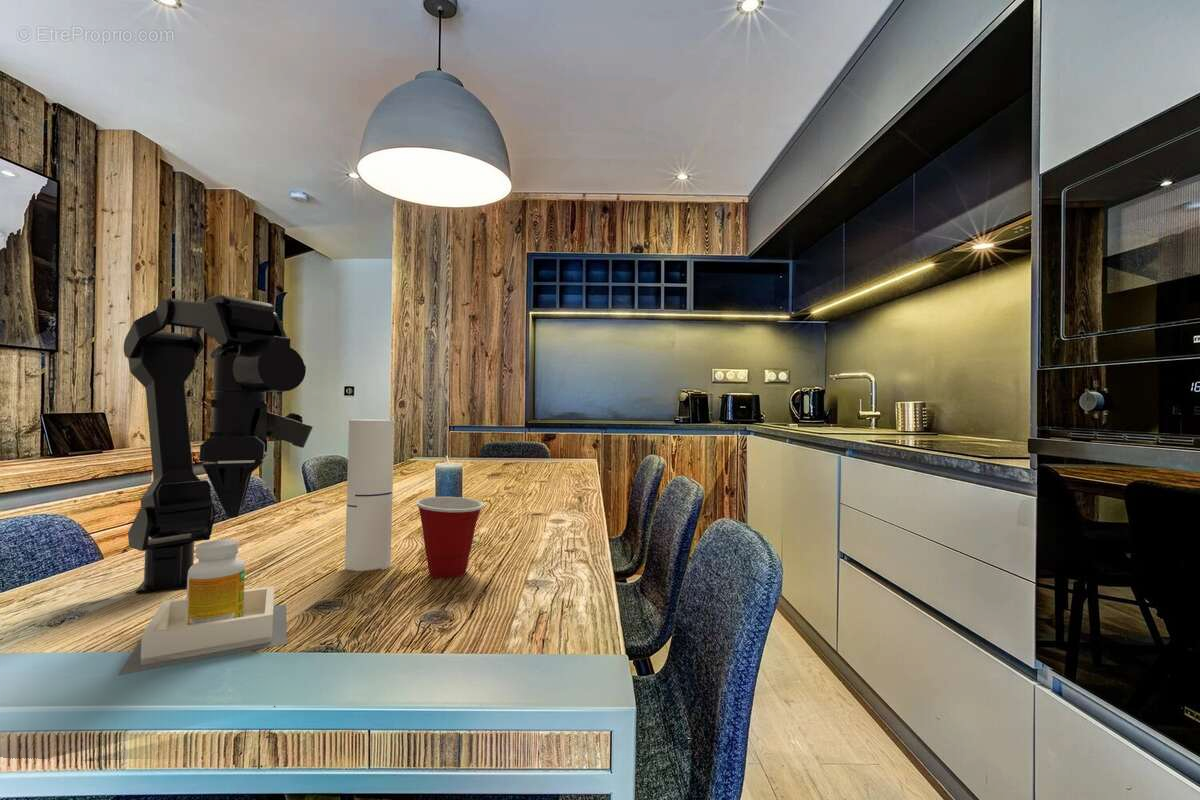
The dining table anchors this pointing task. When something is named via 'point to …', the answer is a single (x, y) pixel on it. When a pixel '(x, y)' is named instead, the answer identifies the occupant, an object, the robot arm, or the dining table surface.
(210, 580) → the supplement bottle
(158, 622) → the dish
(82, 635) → the dining table surface
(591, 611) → the dining table surface
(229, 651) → the mat
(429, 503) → the plastic cup
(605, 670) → the dining table surface
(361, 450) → the cylindrical container
